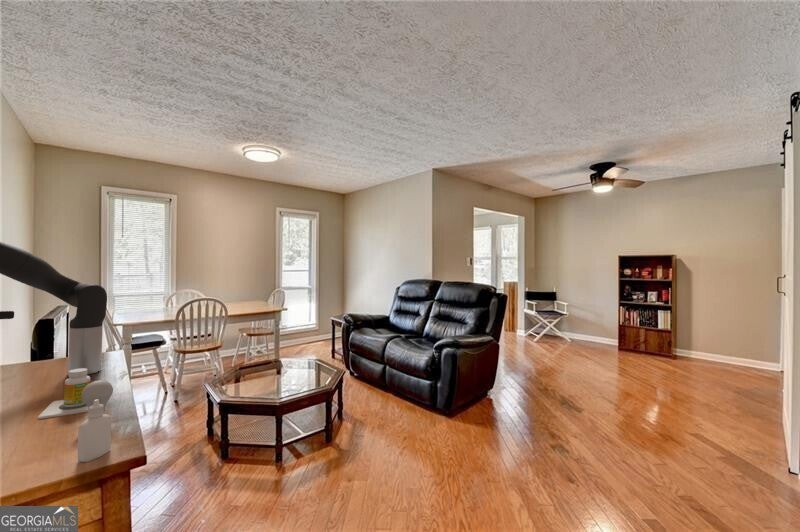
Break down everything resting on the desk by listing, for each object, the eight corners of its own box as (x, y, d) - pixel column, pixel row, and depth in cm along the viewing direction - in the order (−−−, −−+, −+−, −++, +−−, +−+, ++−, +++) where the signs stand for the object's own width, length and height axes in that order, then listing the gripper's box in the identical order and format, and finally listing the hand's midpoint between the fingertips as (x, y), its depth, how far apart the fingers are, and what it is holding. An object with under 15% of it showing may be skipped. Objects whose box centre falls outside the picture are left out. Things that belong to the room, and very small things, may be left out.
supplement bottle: (73, 408, 94) (75, 373, 94) (58, 406, 95) (59, 372, 95) (94, 401, 100) (95, 368, 100) (79, 399, 101) (81, 366, 101)
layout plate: (53, 403, 99) (53, 400, 99) (110, 395, 106) (110, 393, 106) (37, 419, 89) (37, 416, 89) (102, 409, 96) (102, 407, 96)
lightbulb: (76, 430, 84) (77, 386, 84) (85, 420, 89) (86, 378, 89) (108, 426, 86) (109, 382, 86) (115, 416, 92) (116, 375, 92)
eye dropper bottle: (74, 457, 72) (76, 401, 72) (108, 446, 77) (109, 393, 77) (79, 465, 70) (81, 406, 70) (114, 453, 74) (116, 398, 74)
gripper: (-109, 308, 79) (-6, 306, 87) (-69, 302, 91) (18, 300, 100) (-110, 340, 79) (-7, 335, 87) (-70, 330, 91) (17, 326, 99)
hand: (6, 316), depth 93 cm, fingers open, 8 cm apart
